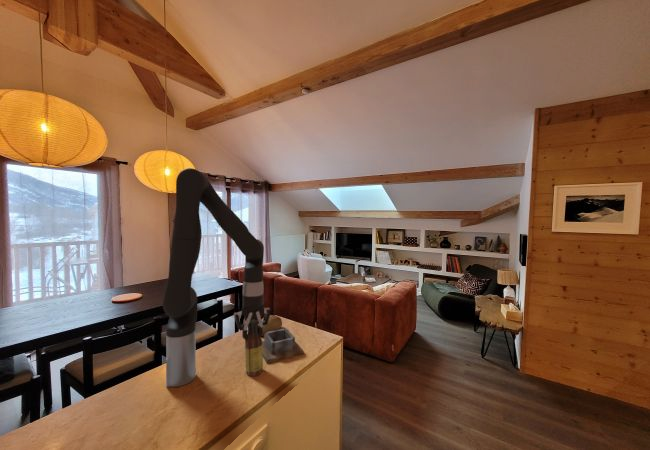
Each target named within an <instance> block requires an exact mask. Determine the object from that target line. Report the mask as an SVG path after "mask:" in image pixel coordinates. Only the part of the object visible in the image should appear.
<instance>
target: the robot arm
mask: <svg viewBox="0 0 650 450" xmlns="http://www.w3.org/2000/svg"><path fill="white" fill-rule="evenodd" d="M175 195H176V196H175V214H174V219H173V227H172V235H171V241H170V242H171V243H170V255H169V263H168V264H169V265H168V279H167V283H166V287H165V291H164V296H163V299H162V308H163V311H164V313H165V314H166V315H167V316H168V317H169V318H168V321H167V325H166V328H165V338H166V339H165V340H166V343H165V345H166V349H165V351H166V355H165V356H166V357H165V373H166V375H165V377H166V378H165V379H166V380H165V381H166V382H165V384H166V385H165V387H166V388H169V387H171V388H173V387H174V388H176V387H182V386H185V385H188V384H190V383H191V382H193V380H195V379H196V375H197V373H196V372H197V370H196V369H197V367H196V365H197V364H196V363H197V362H196V361H197V360H196V359H197V358H196V351H197V349H196V342H197V341H196V336H197V335H196V324H197V321H198V320H197V319H198V295H197V292H196V290H195V288H193V287H192V279H193V274H194V271H195V268H196V266H197V262H198V259H199V255H200V253H201V252H200V251H201V247H202V244H201V243H202V234H203V233H202V224H201V217H200V205H201V204H202V205H203V206H204V207H205V208H206V209H207V210H208V212H209V213H210V214H211V215H212V217H213V219H214V220H215V222H216V223H217V225H218V226H219V227H220V228H221V229H222V230H223V231H224V233H225V234H226V235H227V236H228V237H229V238H230V239H231V240H232V241H233V242H234V243H235V245H236V246H237V247H238V249H239V251H240V252H241V253H242V254H243V255H244V256H245V258H244V259H245V260H244V262H245V265H244V268H243V269H244V270H243V283H242V307H241V310H240V311H238V312H234V313H233V318H234V320H235V324H236V328H238V330H242V332H241V334H242V335H241V336H242V338H243V340H244V341H245V340H247V334H248V324H249V322H250V321H252V320H258V332H259V336H260V337H262V336H261V335H262V328H263V326H264V325H267V324H268V320H269V317H270V315H271V313H272V309H271V308H270V307H265V306H264V293H265V292H264V291H265V290H264V287H265V286H264V268H263V267H264V266H263V264H264V256H265V254H264V252H265V247H264V244H263V242H262V241H261V240H260V239H257V238H256V237H255V235H253V234H252V233H251V231H249V228H248V227H247V225H246V224H245V223H244V222H243V221H242V220H241V218H240V217H239V216H238V215H237V214H236V213H235V212H234V211H233V210H232V209H231V208H230V207H229V205H227V204H226V202H224V200H223V199H222V198H221V196H220V195H219V194H218V193H217V191H216V190H215V188H214V187H213V185H212V183H211V181H209V179H208V177H207V175H206V174H204V173H203V172H201V171H199V170H197V169H195V168H192V167H188V168H184V169H182V170H181V171H180V172H179V173H178V174H177V177H176V181H175ZM263 313H264V315H263V318H264V319H263V318H261V317H262V314H263ZM242 316H243V317H244V319H243V323H241V320H240V319H241V317H242ZM262 319H263V321H262Z"/></svg>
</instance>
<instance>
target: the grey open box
mask: <svg viewBox="0 0 650 450" xmlns="http://www.w3.org/2000/svg"><path fill="white" fill-rule="evenodd" d="M263 337H264V340H262V356H263V359H264V360H265V362H266V364H271V363H275V362H278V361H281V360H285V359H289V358H292V357H296V356H301V355H303V354H304V349H303V348H302V347H301V346H300V345H299V344H298V343H297V342H296V338H295V335H293V334H292V333H291V331H289V329H288V328H280V329H278V330H275V331H270V332H267V333H264V336H263Z"/></svg>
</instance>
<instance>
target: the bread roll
mask: <svg viewBox="0 0 650 450" xmlns="http://www.w3.org/2000/svg"><path fill="white" fill-rule="evenodd" d="M263 319H264V317H263V318H261V320H262V321H263ZM282 326H283V320H282V318H281V317H280V316H278V315H274V314H273V315H272V314H270V317H269V320H268V324H267V325H264V326H263V328H262V335H261V337H264V333H267V332H270V331H275V330H280V329H282Z"/></svg>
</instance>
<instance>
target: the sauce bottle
mask: <svg viewBox="0 0 650 450" xmlns="http://www.w3.org/2000/svg"><path fill="white" fill-rule="evenodd" d="M261 337H262V336H261ZM261 337H260V336H259V332H258V320H252V321H250V322H249V324H248V327H247V340H245V339H244V342H245V343H244V344H245V345H244V348H245V352H244V355H245V356H244V357H245V370H246V371H245V372H246V374H247V376H250V377H256V376H258V375H261V373H263V370H264V369H263V367H264V360H263V359H264V358H263V356H262V342H263V340H262V338H261Z"/></svg>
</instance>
